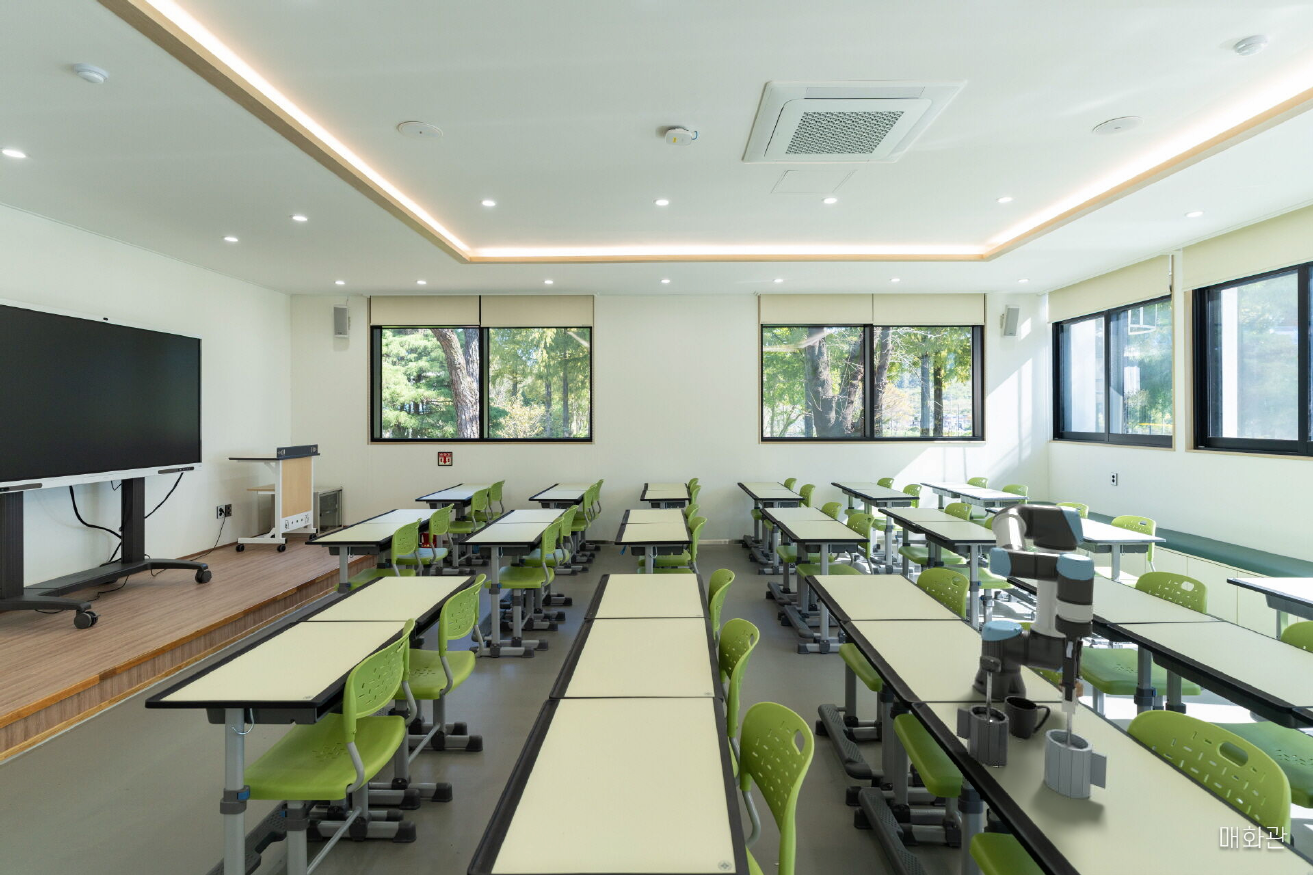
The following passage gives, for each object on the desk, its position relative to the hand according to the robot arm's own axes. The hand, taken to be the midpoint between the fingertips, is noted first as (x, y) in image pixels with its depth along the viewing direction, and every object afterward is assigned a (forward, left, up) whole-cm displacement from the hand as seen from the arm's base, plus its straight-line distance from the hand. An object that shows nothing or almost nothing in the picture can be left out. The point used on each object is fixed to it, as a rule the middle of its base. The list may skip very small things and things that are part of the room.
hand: (1070, 707), depth 143 cm
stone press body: (0, +1, -20) cm, 20 cm away
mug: (-20, -12, -20) cm, 31 cm away
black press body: (0, -19, -20) cm, 28 cm away
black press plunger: (0, -18, -11) cm, 21 cm away
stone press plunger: (0, 0, -11) cm, 11 cm away
